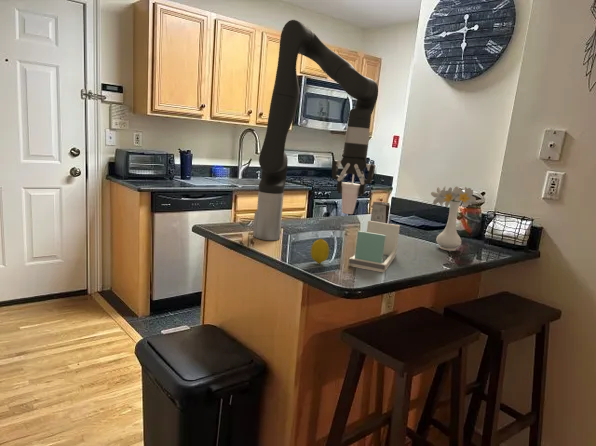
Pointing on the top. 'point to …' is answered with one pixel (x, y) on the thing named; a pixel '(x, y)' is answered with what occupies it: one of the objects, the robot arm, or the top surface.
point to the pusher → (370, 246)
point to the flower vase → (452, 214)
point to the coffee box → (380, 212)
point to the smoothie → (349, 196)
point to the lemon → (320, 251)
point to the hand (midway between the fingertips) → (349, 194)
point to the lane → (389, 247)
